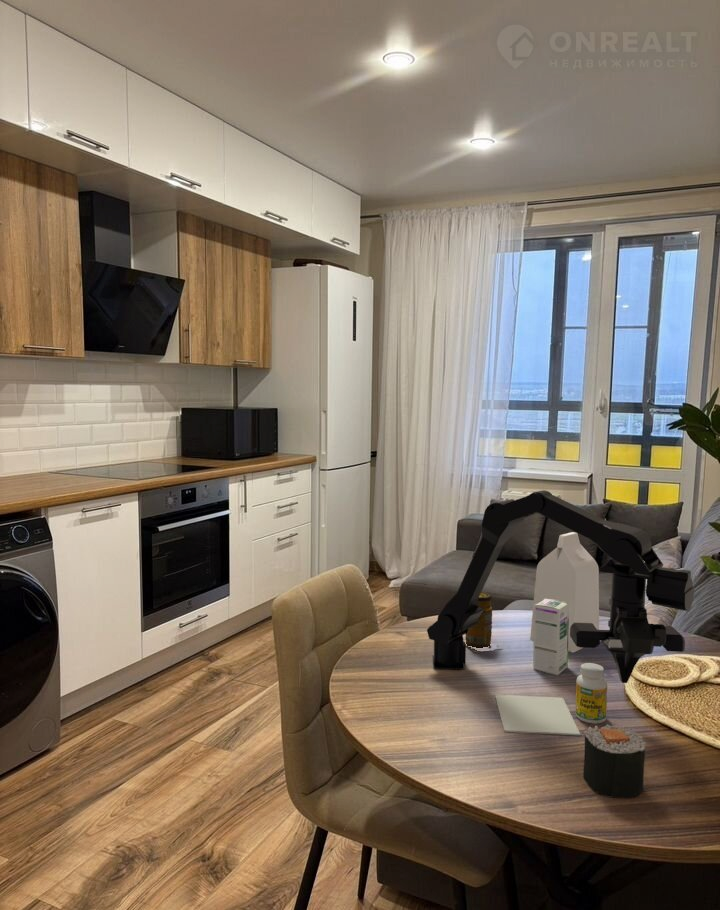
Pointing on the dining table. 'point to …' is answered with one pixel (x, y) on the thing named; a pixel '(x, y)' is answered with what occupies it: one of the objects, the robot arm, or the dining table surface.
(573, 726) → the mat
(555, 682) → the dining table surface
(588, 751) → the sushi
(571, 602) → the milk
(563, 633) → the syrup box
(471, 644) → the condiment
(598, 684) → the supplement bottle
